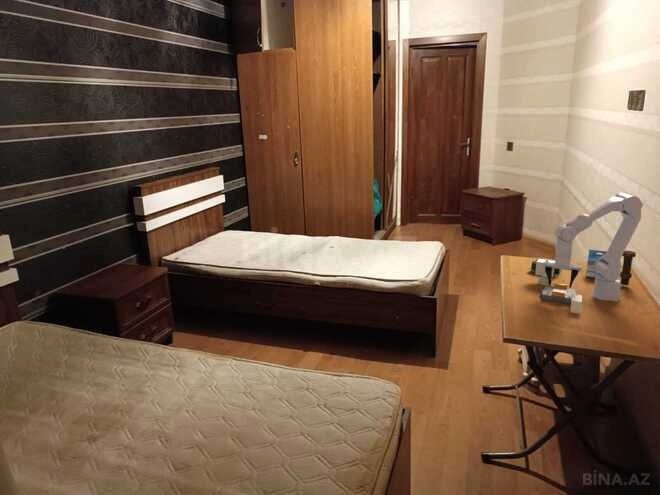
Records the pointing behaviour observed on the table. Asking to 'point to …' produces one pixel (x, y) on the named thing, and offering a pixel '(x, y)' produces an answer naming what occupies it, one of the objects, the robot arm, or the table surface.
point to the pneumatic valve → (543, 271)
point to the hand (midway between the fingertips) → (560, 285)
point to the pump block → (576, 303)
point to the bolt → (627, 267)
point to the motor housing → (558, 293)
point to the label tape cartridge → (593, 262)
